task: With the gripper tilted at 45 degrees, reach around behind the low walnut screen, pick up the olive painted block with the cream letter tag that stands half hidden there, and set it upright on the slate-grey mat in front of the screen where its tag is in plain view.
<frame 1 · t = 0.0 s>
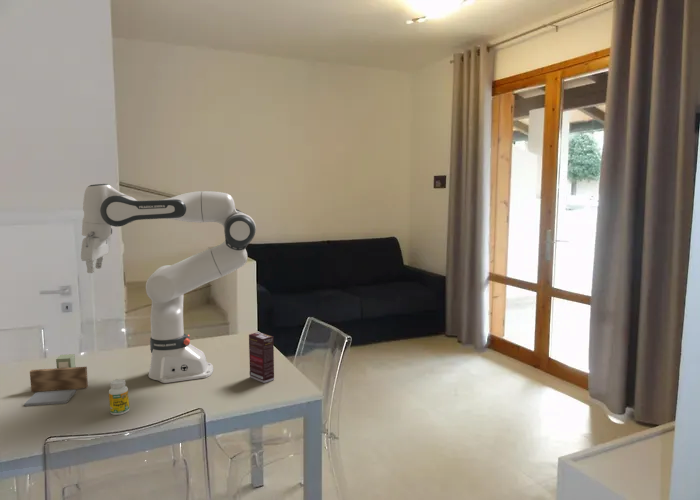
hand: (94, 270, 178), 39 cm above the table, tool pointing down, fingers open, 8 cm apart
supplement bottle: (119, 412, 156), on the table
olive letter block: (67, 381, 180), on the table
walnut screen: (60, 389, 173), on the table
display mat: (51, 398, 165), on the table
supplement box: (262, 379, 183), on the table
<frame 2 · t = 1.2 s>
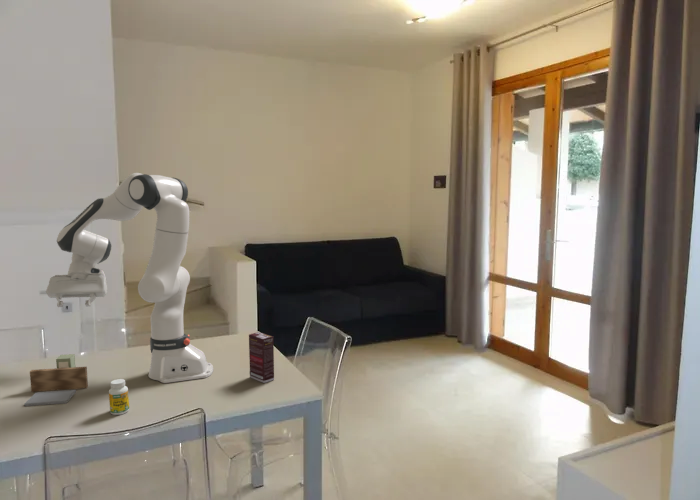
hand: (73, 305, 188), 24 cm above the table, tool tilted 45°, fingers open, 8 cm apart
nothing on the table moved.
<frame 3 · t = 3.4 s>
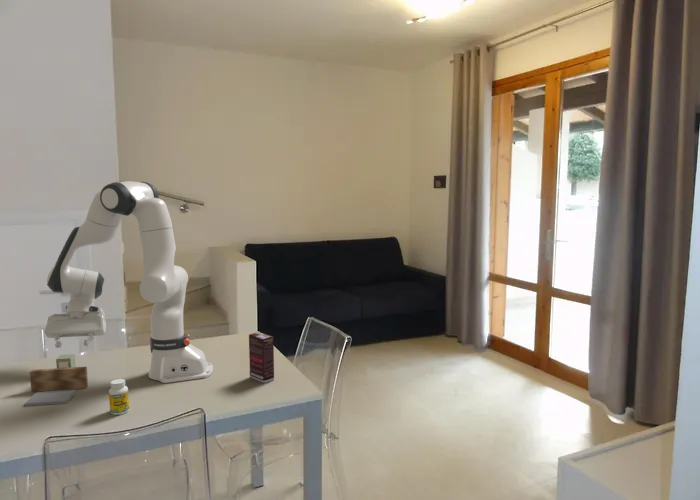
hand: (72, 346, 185), 10 cm above the table, tool tilted 45°, fingers open, 8 cm apart
nothing on the table moved.
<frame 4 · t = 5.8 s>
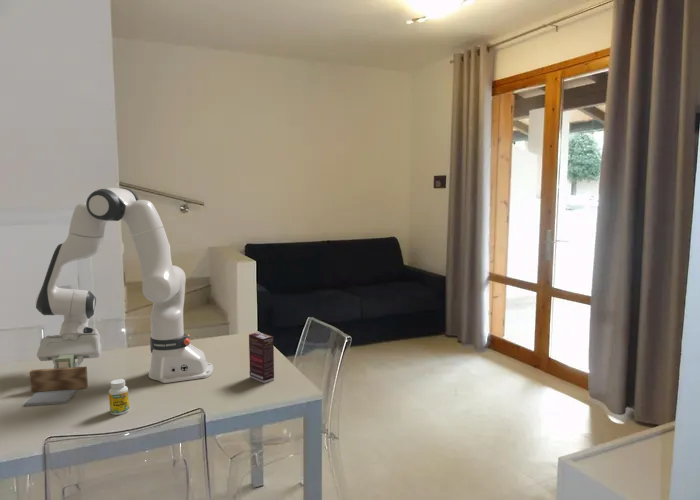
hand: (65, 369, 179), 4 cm above the table, tool tilted 45°, fingers closed on olive letter block, 4 cm apart
olive letter block: (67, 381, 180), on the table, touching gripper
everything else where it was.
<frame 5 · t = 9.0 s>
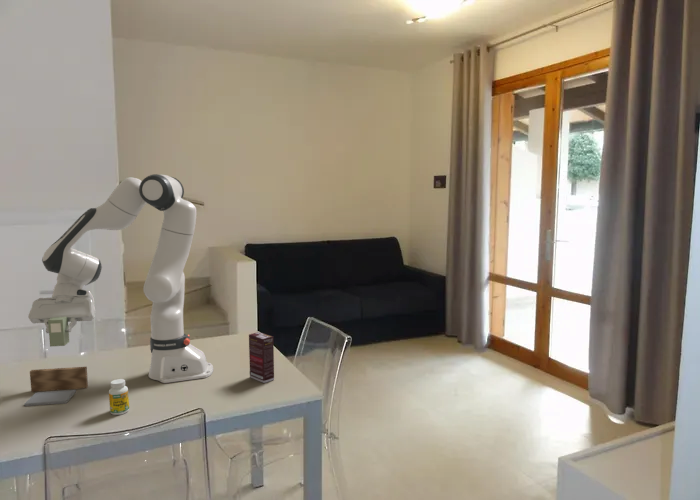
hand: (58, 332, 172), 19 cm above the table, tool tilted 45°, fingers closed on olive letter block, 4 cm apart
olive letter block: (59, 344, 174), point 15 cm above the table, touching gripper
everything else where it was.
when the fingers open (7 cm above the table, at t = 12.6 s): olive letter block drops 1 cm, resting on display mat.
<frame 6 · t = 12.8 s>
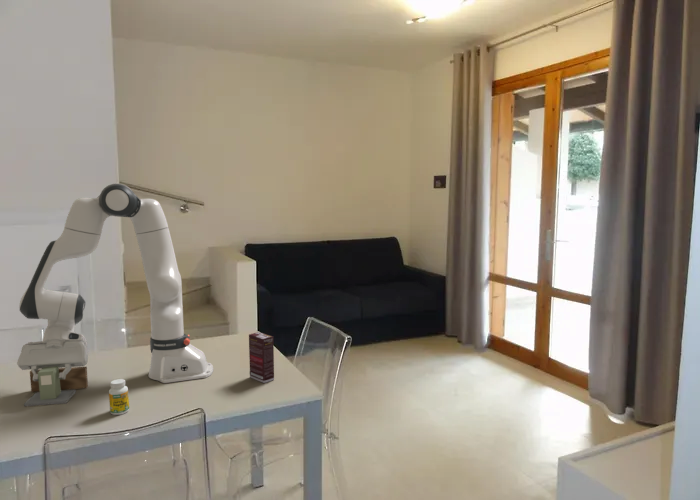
hand: (48, 379, 164), 7 cm above the table, tool tilted 45°, fingers open, 6 cm apart
olive letter block: (51, 396, 165), point 1 cm above the table, touching display mat
everything else where it was.
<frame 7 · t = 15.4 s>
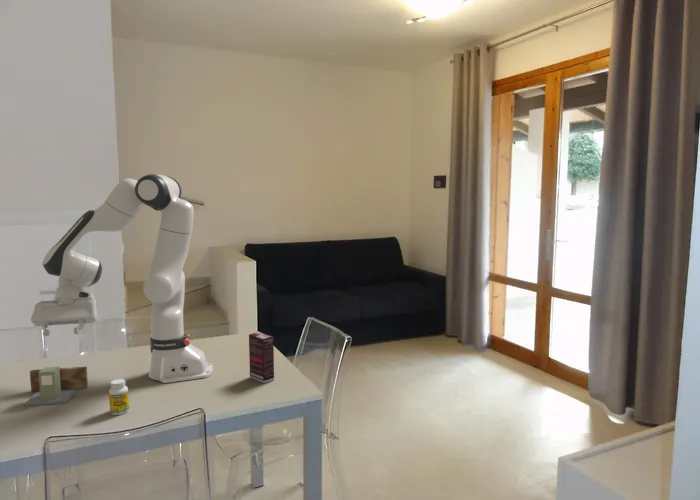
hand: (61, 334, 174), 18 cm above the table, tool tilted 45°, fingers open, 8 cm apart
nothing on the table moved.
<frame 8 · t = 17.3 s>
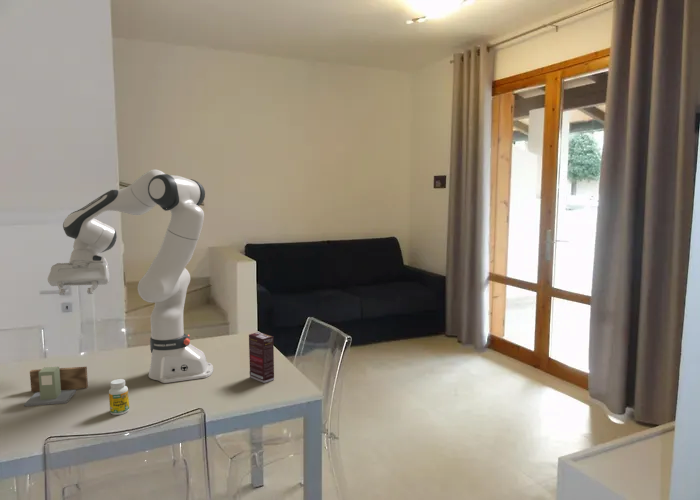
hand: (75, 293, 184), 29 cm above the table, tool tilted 45°, fingers open, 8 cm apart
nothing on the table moved.
at the end: olive letter block inside the target area on the display mat (0.0 cm from its centre), point 0.8 cm above the display mat's base; olive letter block tilted 0°; the gripper is holding nothing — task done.
